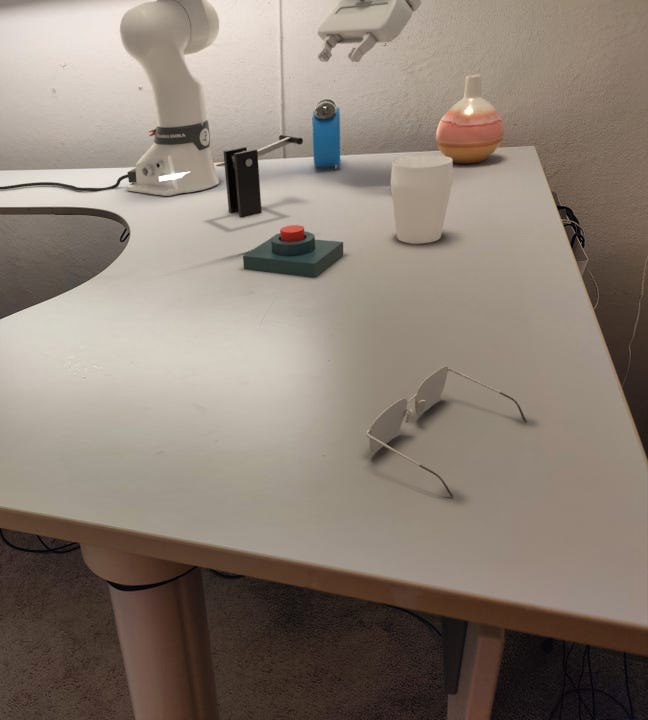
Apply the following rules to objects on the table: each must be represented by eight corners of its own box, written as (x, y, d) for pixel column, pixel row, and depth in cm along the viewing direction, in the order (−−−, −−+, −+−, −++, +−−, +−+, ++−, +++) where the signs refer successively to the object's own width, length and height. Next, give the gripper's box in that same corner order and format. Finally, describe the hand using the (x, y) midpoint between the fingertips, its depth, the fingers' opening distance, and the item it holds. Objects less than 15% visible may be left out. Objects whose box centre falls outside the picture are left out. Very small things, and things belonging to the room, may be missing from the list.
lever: (285, 142, 128) (282, 130, 127) (304, 146, 123) (301, 133, 121) (227, 167, 125) (224, 154, 124) (244, 172, 119) (241, 159, 118)
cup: (386, 246, 104) (388, 169, 98) (392, 229, 111) (393, 156, 106) (448, 246, 101) (453, 166, 95) (449, 228, 108) (454, 153, 103)
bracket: (260, 208, 133) (256, 142, 127) (285, 216, 125) (281, 147, 119) (207, 221, 129) (200, 153, 123) (228, 231, 121) (222, 159, 115)
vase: (514, 157, 145) (523, 70, 137) (475, 170, 139) (482, 80, 131) (460, 152, 156) (465, 71, 148) (421, 164, 150) (425, 80, 142)
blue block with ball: (340, 171, 152) (339, 102, 145) (312, 173, 154) (310, 105, 147) (340, 159, 163) (339, 95, 157) (314, 161, 165) (313, 97, 158)
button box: (243, 269, 102) (241, 244, 101) (275, 248, 109) (273, 225, 108) (315, 278, 96) (314, 251, 94) (343, 255, 103) (343, 230, 101)
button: (276, 242, 101) (275, 231, 100) (287, 235, 103) (287, 224, 102) (297, 244, 99) (297, 233, 98) (308, 237, 101) (308, 226, 100)
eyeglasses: (444, 393, 65) (450, 358, 63) (527, 426, 60) (537, 389, 58) (362, 461, 57) (365, 424, 55) (449, 506, 52) (457, 466, 50)
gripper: (335, -14, 128) (294, 48, 129) (409, -25, 111) (361, 47, 112) (354, 10, 131) (314, 70, 133) (428, 2, 115) (382, 71, 116)
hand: (336, 59), depth 122 cm, fingers open, 8 cm apart
